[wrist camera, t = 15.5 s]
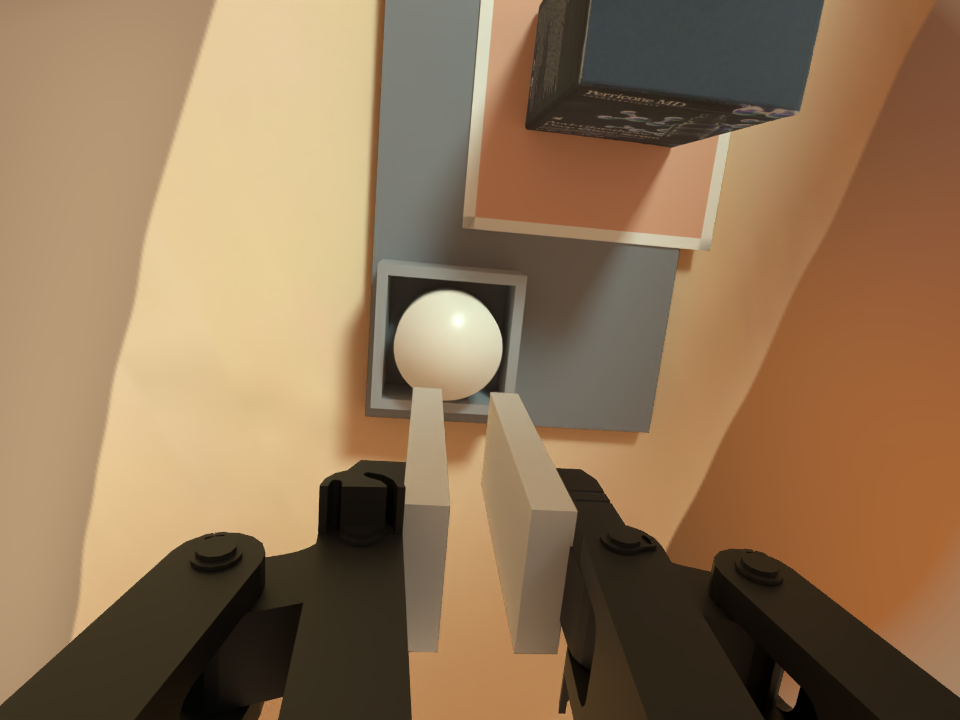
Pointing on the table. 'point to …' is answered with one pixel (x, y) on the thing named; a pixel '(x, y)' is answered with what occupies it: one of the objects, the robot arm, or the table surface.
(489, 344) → the button
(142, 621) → the robot arm
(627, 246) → the grey board
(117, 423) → the table surface
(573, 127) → the box
